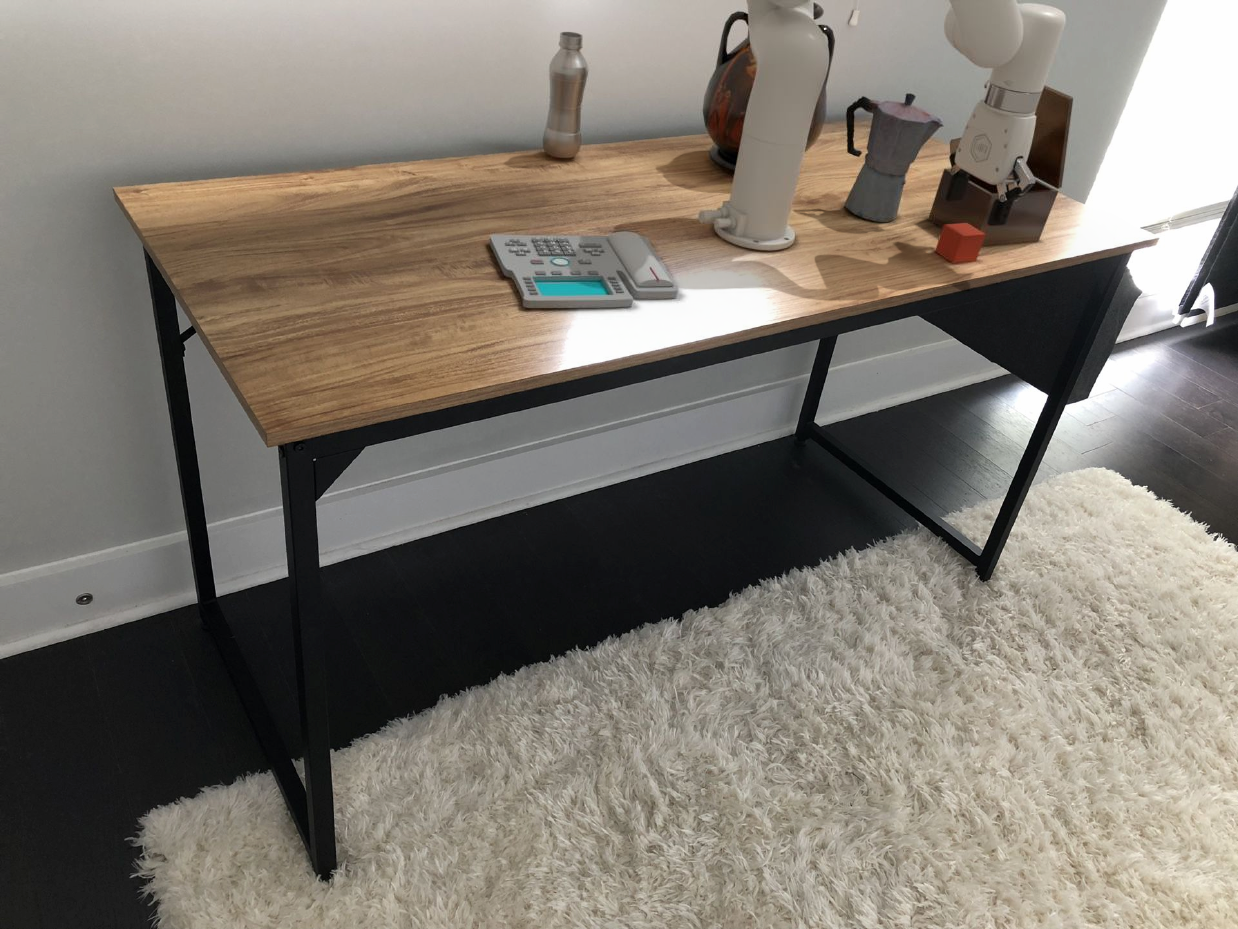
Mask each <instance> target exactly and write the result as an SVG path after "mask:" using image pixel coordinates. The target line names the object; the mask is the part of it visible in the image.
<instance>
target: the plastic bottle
mask: <svg viewBox="0 0 1238 929" xmlns="http://www.w3.org/2000/svg"><path fill="white" fill-rule="evenodd" d="M583 41H584V40H583V35H582V34H581V33H579V32H573V31H562V32H560V34H559V41H558V46H559V49H558V50H557V52H556V53H555V54H554V56H553V57H552V59H551V60H550V63H549V65H548V66H549V67H548V72H549V74H548V77H549V105H548V113H547V118H546V125H545V128H544V131H543V137H542V147H543V150H544V152H545V154H546V155H549V156H551V157H554V158H559V159H571V158H574V157H576V156H577V155H578V154H579V152H580V150H581V146H582V130H581V120H582V119H581V117H582V114H581V112H582V104H583V99H584V93H585V88H586V86H587V85H586V84H587V80H588V76H589V64H588V62H587V60H586V57H585V56H584V54H583V53H582V51H581V50H582V49H583V47H584V45H583Z"/></svg>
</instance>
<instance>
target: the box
mask: <svg viewBox="0 0 1238 929" xmlns="http://www.w3.org/2000/svg"><path fill="white" fill-rule="evenodd" d="M950 169H951V167H949V168H944V169H943V171H942V175H941V177H940V181H939V183H938V186H937V190H936V193H935V196H934V199H933V203H932V205H931V209H930V212H929V214H928V217H927V219H928V220H929V221H931V222H932V223H934V224H935V225H937V226H938V227H940V228H941V229H943V226H944V225H946V224H958V223H968V224H970V225H971V226H973V227H975V228H976V229H978V230H980V231H981V232H983V233H985V234H986V235H985V237H984V240H983V243H982V246H981V248H983V247H992V246H1004V245H1013V244H1023V243H1025V244H1026V243H1034V242H1035V243H1036V242H1039V241H1040V239H1041V237H1042V234H1043V232H1044V229H1045V227H1046V224H1047V222H1048V219H1049V217H1050V214H1051V211H1052V208H1053V206H1054V204H1055V201H1056V198H1057V196H1058V193H1059V190H1058V189H1056V188H1054V187H1052V186H1051V185H1049V184H1047V183H1045V182H1043V181H1041V180H1039V179H1036V181H1035V183H1034V185H1033V186H1032V187H1031V188H1030V189H1029V190H1027V193H1026V194H1025V195H1023V196H1022V197H1020V198H1019V199H1018V200H1016V201H1013V204H1012V207H1011V210H1010V212H1009V215H1008V218H1007V221H1006V223H1005V224H1004V225H997V226H990V225H988V223H987V222H988V219H989V216H990V213H991V210H992V207H993V204H994V201H995V200H996V199H999V195H998V190H997V185H992V184H989V183H987V182H985V181H983V180H981V179H979V178H977V177H975V176H974V175H972V174H970V173H967V174H968V175H970V178H969V182H968V185H967V188H966V191H965V194H964V197H963V199H962V200H957V201H947V200H945V197H946V194H947V191H948V187H949V184H950V181H951V178H952V174H951V173H950ZM1019 183H1020V179H1019V181H1018V182H1017V186H1018V184H1019ZM1006 189H1007V192H1008V191H1009V188H1008V185H1006Z"/></svg>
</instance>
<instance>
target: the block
mask: <svg viewBox="0 0 1238 929" xmlns="http://www.w3.org/2000/svg"><path fill="white" fill-rule="evenodd" d="M985 235H986V234H985V233H983V232H981V231H980V230H978V229H976V228H975V227H973V226H971V225H970V224H968V223H958V224H946V225H944V226H943V228H941V231H940V235H939V238H938V241H937V244H936V247H935V250H934V251H935V253H937V254H939V255H940V256H942V257H943V258H945V259H946V260H948V261H949V262H951V263H952V264H956V263H965V262H966V263H967V262H975V261H977V259H978V256H979V254H980V250H981V248H982V247H981V246H982V243H983V240H984V237H985Z"/></svg>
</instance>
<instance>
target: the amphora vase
mask: <svg viewBox="0 0 1238 929" xmlns="http://www.w3.org/2000/svg"><path fill="white" fill-rule="evenodd" d="M746 4H747V5H748V2H747V1H746ZM824 13H825V10H824V9H823V7H822V6H821V5H820V4H818V3H816V2H814V1H813V16H814V21H815V20H816V21H817V20H819V19H820V18H822V17H823V15H824ZM737 21H744V22H745V23H746V25H747V37H745V38H744V39H743V40H742V41H741V42H739V44H737V45H736V46H735V47H734V48H733V49H732V50H730V52H729V53H728V51H727V50H728V39H729V35H730V32H731V29H732V27H733V25H734V24H735V22H737ZM817 25H818V26H819V28H820V29H821V30H822V32H823V34H824V36H825V37H826V40H827V44H828V49H829V64H828V70H827V74H826V78H825V81H824V84H823V86H822V89H821V92H820V95H819V97H818V100H817V103H816V107H815V110H814V114H813V117H812V121H811V125H810V129H809V134H808V138H807V143H806V148H805V152H804V154H805V153H807V152H808V151H809V150H810V149H811V148H812V147H813V146H814V145H815V144H816V142H817V140H818V139H819V137H820V136H821V134H822V132H823V128H824V125H825V120H826V118H827V106H828V98H827V96H828V95H827V85H828V80H829V76H830V71H831V68H832V62H833V58H834V52H835V45H836V38H835V34H834V30H833V29H832V28H831V27H830V26H828V25H827V24H817ZM756 71H757V62H756V60H755V58H754V56H753V53H752V50H751V46H750V38H749V22H748V12H745V11H739V10H738V11H735V12H733V13H731V14H730V16H729V17H728V18H727V20H725V23H724V26H723V30H722V33H721V37H720V42H719V47H718V52H717V59H716V65H715V69H714V71H713V73H712V74H711V77H710V79H709V81H708V84H707V88H706V89H705V93H704V96H703V102H702V110H701V111H702V116H703V122H704V127H705V128H706V131H707V133H708V136H709V137H710V139H711V141H712V142H713V143H714V144H713V145H712V146H711V148H710V149H709V151H708V158H709V160H710V162H711V163H712V164H713V165H714V166H715V167H716V168H718V169H719V170H720V171H722V172H723V173H727V174H728V175H731V176H734V173H735V168H736V163H737V158H738V153H739V148H740V143H741V137H742V132H743V125H744V120H745V115H746V111H747V106H748V102H749V98H750V94H751V91H752V87H753V84H754V80H755V76H756Z"/></svg>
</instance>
